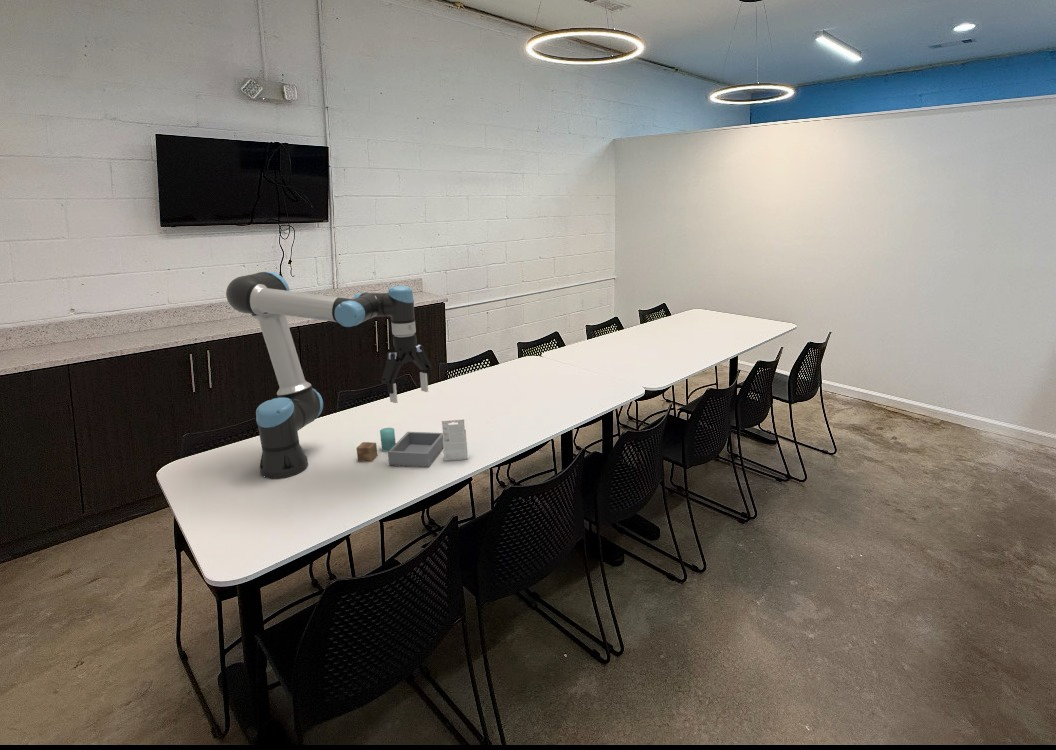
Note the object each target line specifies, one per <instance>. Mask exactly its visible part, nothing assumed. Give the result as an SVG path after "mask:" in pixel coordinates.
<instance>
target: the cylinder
mask: <svg viewBox="0 0 1056 750" xmlns="http://www.w3.org/2000/svg"><path fill="white" fill-rule="evenodd" d="M379 435H380V442H381V443H380V444H381V450H382V451H384V452H388V451H389V450H390V449H391V448H392V447H393V446H394V445H395V444H396V443H397V442H396V434H395V428H393V427H384V428H381V429H379Z"/></svg>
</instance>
